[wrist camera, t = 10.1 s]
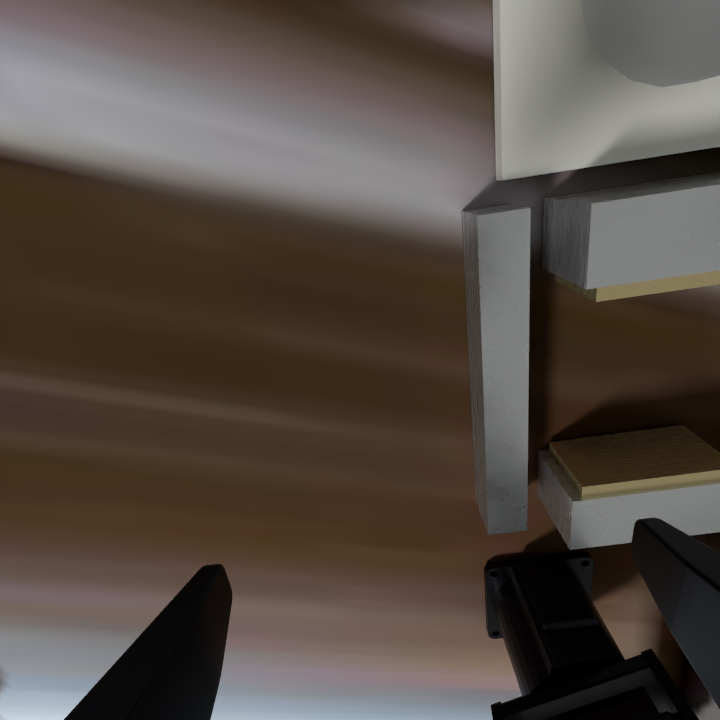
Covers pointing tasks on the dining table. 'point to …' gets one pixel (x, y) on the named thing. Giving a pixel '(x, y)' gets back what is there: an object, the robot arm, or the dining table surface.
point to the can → (657, 38)
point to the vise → (599, 283)
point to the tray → (582, 98)
